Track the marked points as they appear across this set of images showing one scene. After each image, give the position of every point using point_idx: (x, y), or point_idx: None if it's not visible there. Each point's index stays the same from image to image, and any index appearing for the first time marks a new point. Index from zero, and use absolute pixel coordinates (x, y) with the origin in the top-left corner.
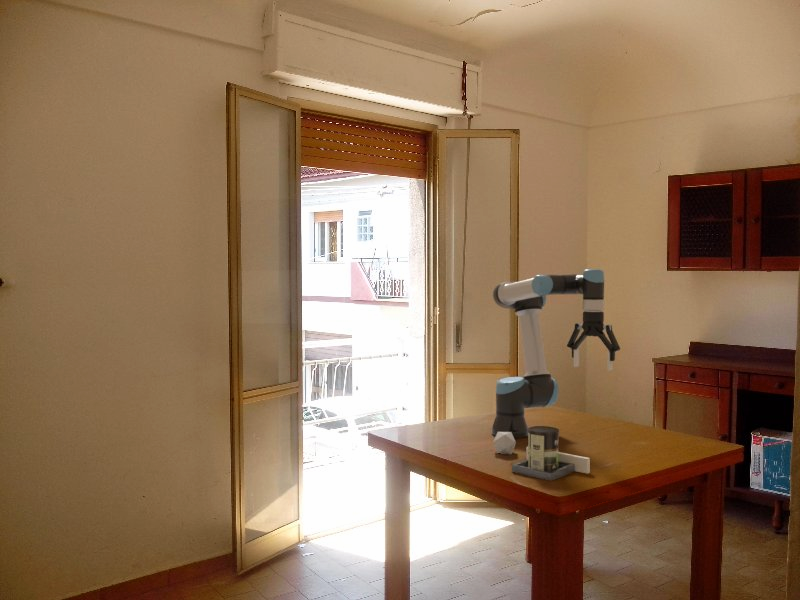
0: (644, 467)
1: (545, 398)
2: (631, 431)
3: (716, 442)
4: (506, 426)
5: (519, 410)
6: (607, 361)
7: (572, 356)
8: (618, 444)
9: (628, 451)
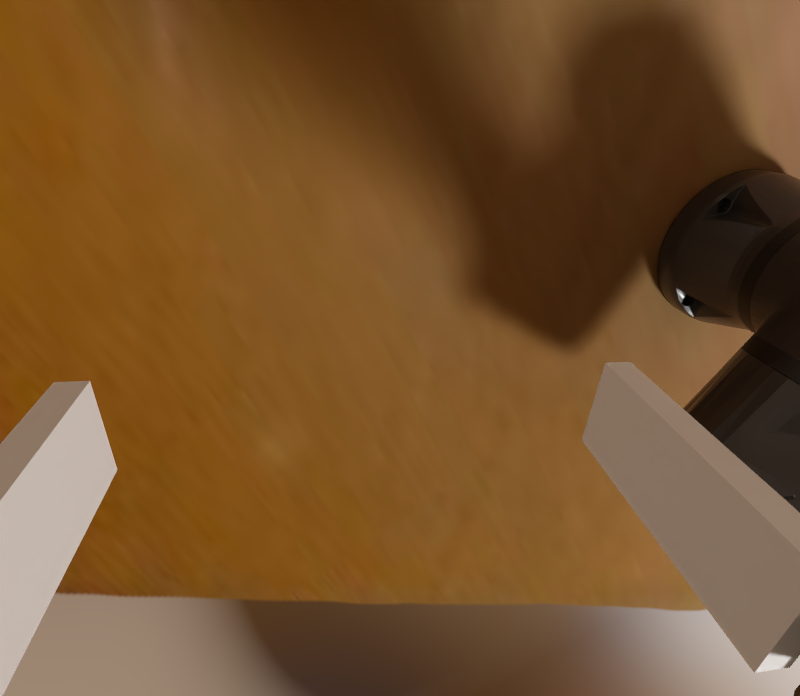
0: (8, 97)
1: (701, 416)
2: (378, 538)
3: (109, 586)
4: (769, 192)
5: (775, 269)
6: (7, 481)
7: (758, 474)
8: (324, 379)
9: (238, 313)
